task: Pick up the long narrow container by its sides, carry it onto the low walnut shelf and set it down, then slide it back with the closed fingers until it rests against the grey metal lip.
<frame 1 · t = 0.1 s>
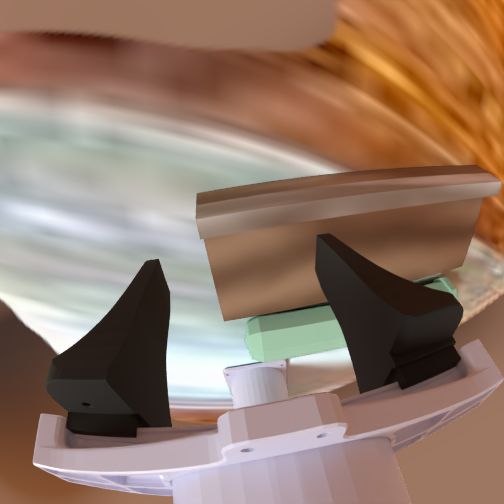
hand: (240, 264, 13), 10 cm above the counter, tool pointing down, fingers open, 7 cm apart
container: (350, 303, 32), on the counter
shelf: (364, 231, 26), on the counter
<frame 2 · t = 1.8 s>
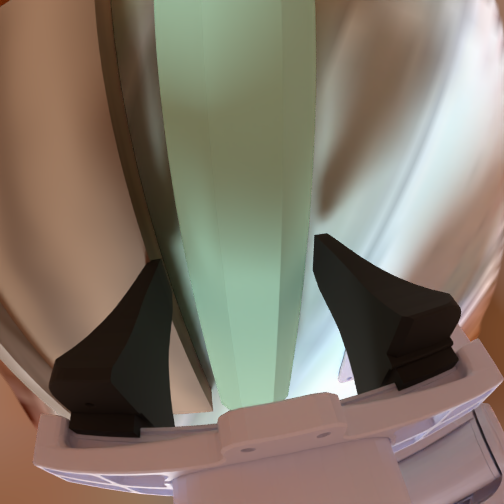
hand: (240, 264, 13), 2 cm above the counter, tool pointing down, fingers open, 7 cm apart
container: (237, 238, 15), on the counter
shelf: (64, 271, 14), on the counter
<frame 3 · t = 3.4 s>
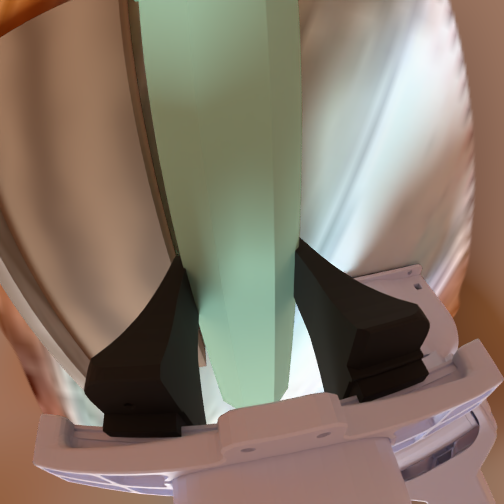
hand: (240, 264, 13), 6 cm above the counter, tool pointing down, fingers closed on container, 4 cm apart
container: (230, 237, 15), point 4 cm above the counter, touching gripper
shelf: (82, 229, 18), on the counter
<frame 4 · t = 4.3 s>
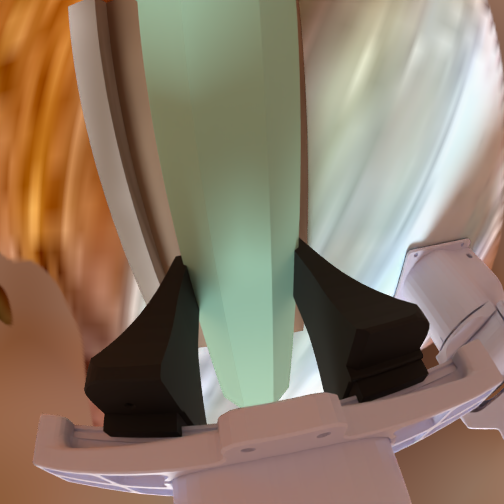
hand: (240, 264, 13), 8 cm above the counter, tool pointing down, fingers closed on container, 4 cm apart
container: (233, 234, 16), point 6 cm above the counter, touching gripper
shelf: (214, 191, 20), on the counter
when the fingers open (4 cm above the counter, at t = 5.5 s): container stays where it is, resting on shelf.
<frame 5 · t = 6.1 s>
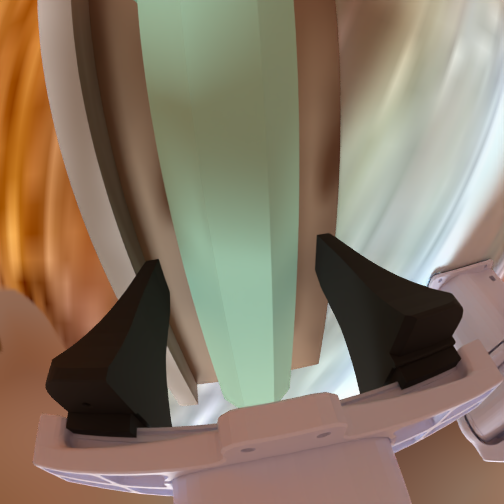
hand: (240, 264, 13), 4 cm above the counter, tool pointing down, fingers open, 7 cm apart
container: (233, 234, 16), point 2 cm above the counter, touching shelf
shelf: (222, 218, 17), on the counter
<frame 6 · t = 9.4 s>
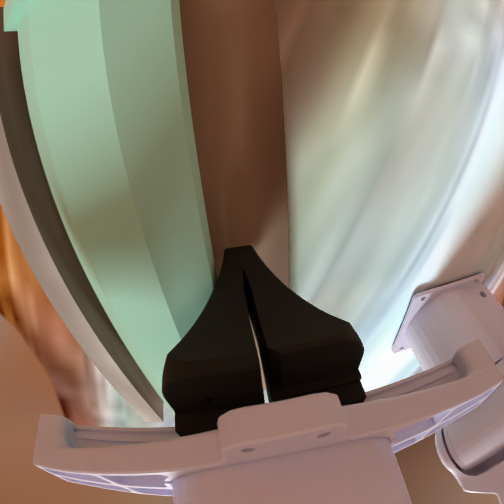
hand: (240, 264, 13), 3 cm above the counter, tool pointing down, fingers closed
container: (169, 261, 14), point 2 cm above the counter, touching gripper, shelf
shelf: (168, 240, 16), on the counter
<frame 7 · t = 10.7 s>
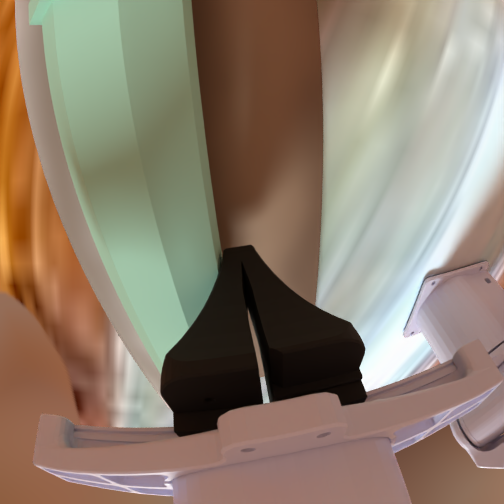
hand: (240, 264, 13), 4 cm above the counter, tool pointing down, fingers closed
container: (178, 245, 15), point 2 cm above the counter, touching gripper, shelf
shelf: (205, 222, 17), on the counter
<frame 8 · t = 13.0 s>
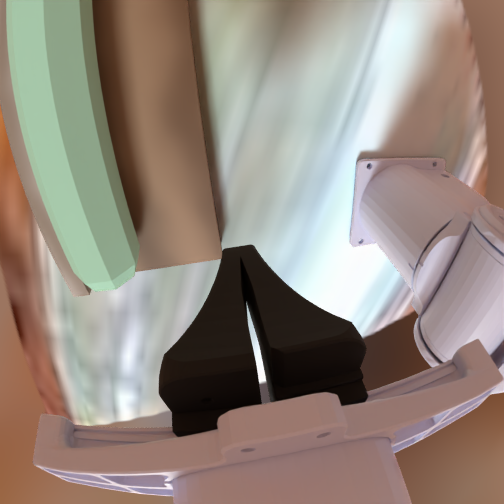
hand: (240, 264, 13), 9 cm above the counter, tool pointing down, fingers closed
container: (75, 91, 14), point 2 cm above the counter, touching shelf
shelf: (105, 82, 15), on the counter
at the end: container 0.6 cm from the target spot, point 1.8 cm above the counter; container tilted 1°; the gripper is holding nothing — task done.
